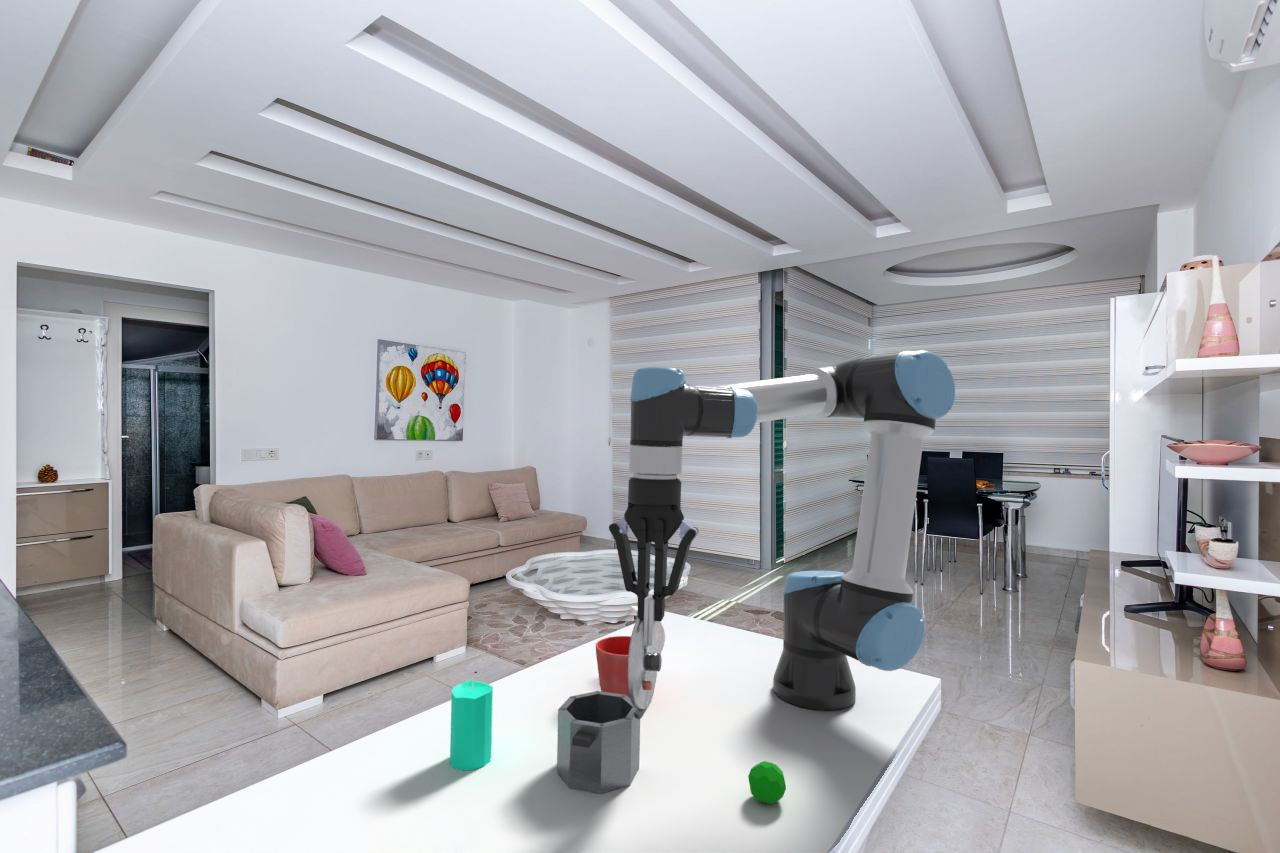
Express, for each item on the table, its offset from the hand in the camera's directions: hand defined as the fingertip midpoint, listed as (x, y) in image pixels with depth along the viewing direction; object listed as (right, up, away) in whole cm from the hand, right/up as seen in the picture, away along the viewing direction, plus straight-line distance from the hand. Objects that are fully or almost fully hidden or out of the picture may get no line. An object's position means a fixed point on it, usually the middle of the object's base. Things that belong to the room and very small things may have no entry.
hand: (649, 642), depth 89 cm
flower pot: (-5, -20, +27) cm, 34 cm away
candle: (-27, -19, +4) cm, 33 cm away
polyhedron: (+16, -20, -5) cm, 26 cm away
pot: (-7, -19, +2) cm, 21 cm away
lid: (-2, -3, +1) cm, 4 cm away
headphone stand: (0, -20, +43) cm, 48 cm away
